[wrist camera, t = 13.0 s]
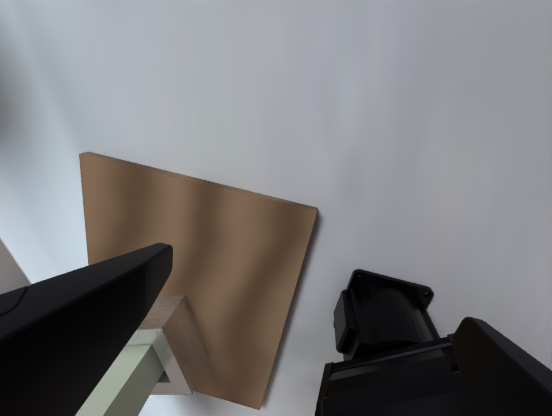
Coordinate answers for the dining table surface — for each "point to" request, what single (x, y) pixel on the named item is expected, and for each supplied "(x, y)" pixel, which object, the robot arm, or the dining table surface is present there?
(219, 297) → the walnut board
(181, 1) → the dining table surface
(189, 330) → the keyed slot
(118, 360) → the keyed peg
